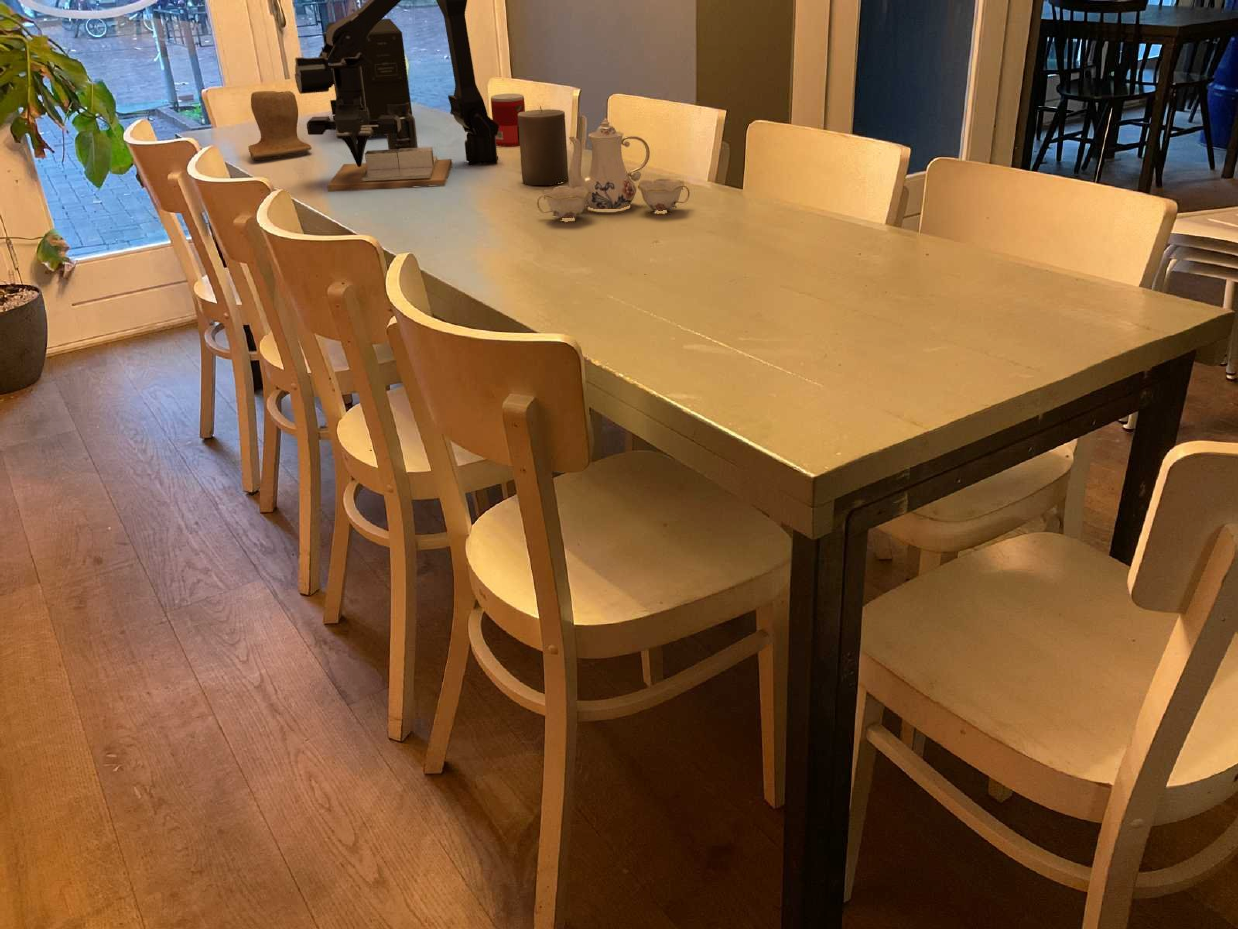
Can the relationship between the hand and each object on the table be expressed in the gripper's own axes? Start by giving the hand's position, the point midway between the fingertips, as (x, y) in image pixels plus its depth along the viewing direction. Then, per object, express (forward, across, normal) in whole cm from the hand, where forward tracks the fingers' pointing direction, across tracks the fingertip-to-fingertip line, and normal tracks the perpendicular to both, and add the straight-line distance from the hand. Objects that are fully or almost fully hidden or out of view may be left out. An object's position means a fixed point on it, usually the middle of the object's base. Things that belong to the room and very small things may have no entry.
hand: (359, 166), depth 218 cm
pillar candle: (+2, +40, -10) cm, 41 cm away
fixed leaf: (+1, +9, +4) cm, 9 cm away
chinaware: (+2, +52, -36) cm, 64 cm away
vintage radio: (+3, -7, +62) cm, 62 cm away
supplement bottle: (+3, +7, +21) cm, 22 cm away
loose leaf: (+1, +9, -4) cm, 10 cm away
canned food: (+2, +31, +31) cm, 44 cm away
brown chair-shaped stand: (+3, -24, +29) cm, 38 cm away
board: (+2, +7, 0) cm, 7 cm away
